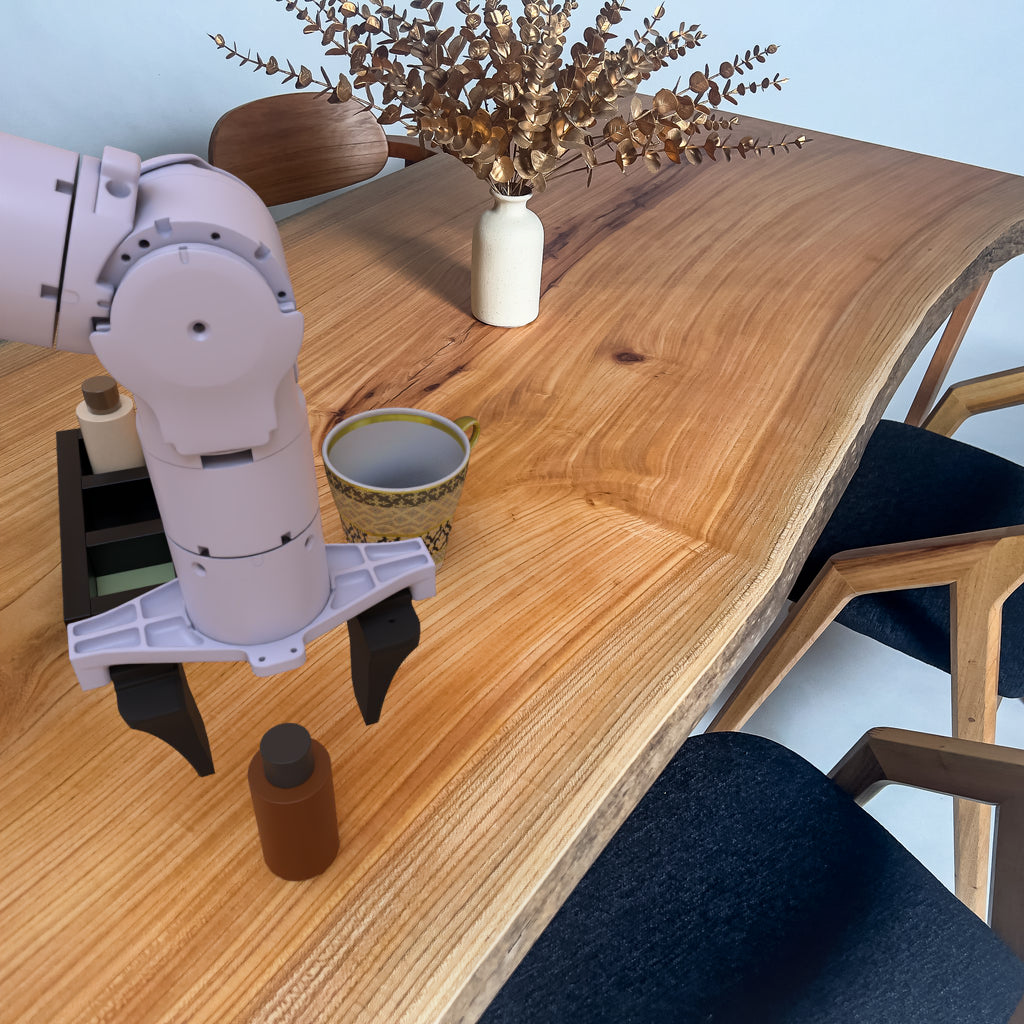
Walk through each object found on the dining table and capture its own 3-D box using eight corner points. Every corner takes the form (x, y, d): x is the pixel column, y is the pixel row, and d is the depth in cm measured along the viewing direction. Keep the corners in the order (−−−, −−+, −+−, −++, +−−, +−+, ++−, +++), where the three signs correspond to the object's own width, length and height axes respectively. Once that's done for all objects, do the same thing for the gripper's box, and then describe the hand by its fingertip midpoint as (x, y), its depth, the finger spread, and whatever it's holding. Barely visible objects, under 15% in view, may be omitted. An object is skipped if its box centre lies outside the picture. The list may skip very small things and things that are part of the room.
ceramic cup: (393, 625, 62) (389, 511, 56) (303, 555, 67) (290, 443, 61) (521, 541, 70) (530, 432, 63) (431, 483, 75) (432, 377, 68)
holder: (76, 658, 58) (63, 620, 56) (66, 466, 74) (55, 431, 71) (212, 627, 61) (204, 590, 59) (174, 448, 76) (167, 414, 74)
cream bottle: (94, 500, 70) (65, 399, 64) (99, 469, 73) (72, 371, 67) (149, 494, 71) (125, 395, 65) (152, 465, 74) (129, 367, 68)
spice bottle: (265, 888, 47) (243, 785, 41) (261, 821, 50) (240, 716, 44) (343, 872, 48) (332, 769, 42) (335, 807, 51) (324, 703, 45)
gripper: (34, 633, 29) (134, 859, 37) (460, 527, 34) (462, 750, 42) (31, 504, 34) (119, 730, 42) (401, 428, 39) (414, 645, 47)
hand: (288, 733), depth 43 cm, fingers open, 7 cm apart
